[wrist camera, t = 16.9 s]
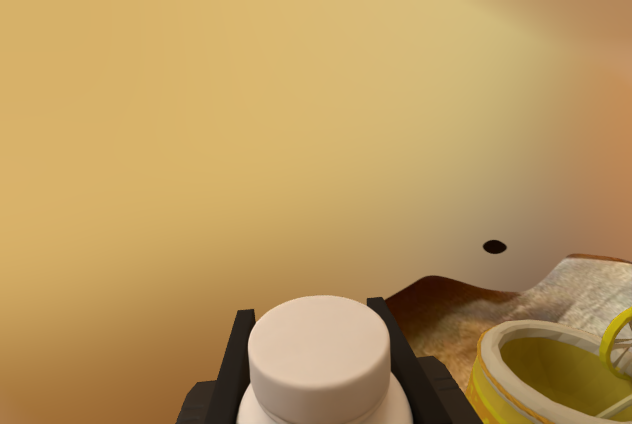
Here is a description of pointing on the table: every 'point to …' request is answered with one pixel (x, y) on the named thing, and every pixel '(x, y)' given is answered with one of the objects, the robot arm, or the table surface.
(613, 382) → the mug
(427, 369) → the robot arm
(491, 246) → the table surface
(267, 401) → the supplement bottle
